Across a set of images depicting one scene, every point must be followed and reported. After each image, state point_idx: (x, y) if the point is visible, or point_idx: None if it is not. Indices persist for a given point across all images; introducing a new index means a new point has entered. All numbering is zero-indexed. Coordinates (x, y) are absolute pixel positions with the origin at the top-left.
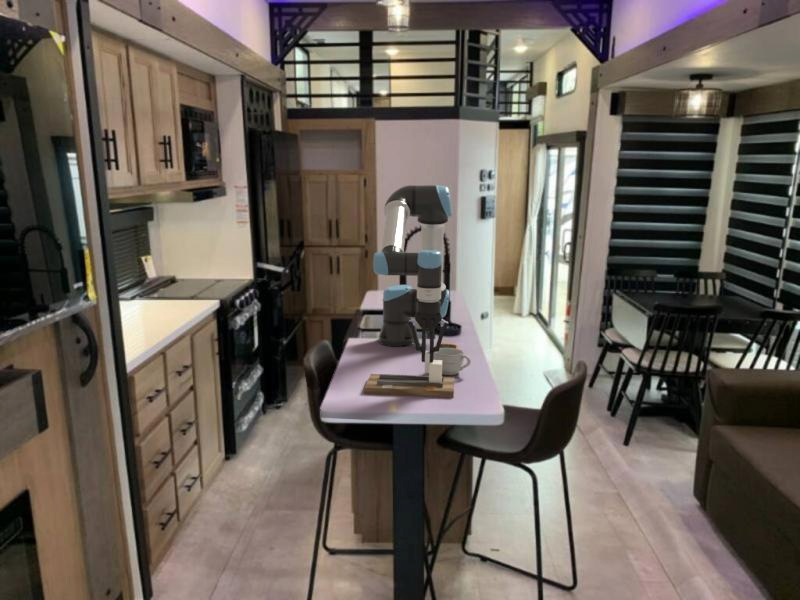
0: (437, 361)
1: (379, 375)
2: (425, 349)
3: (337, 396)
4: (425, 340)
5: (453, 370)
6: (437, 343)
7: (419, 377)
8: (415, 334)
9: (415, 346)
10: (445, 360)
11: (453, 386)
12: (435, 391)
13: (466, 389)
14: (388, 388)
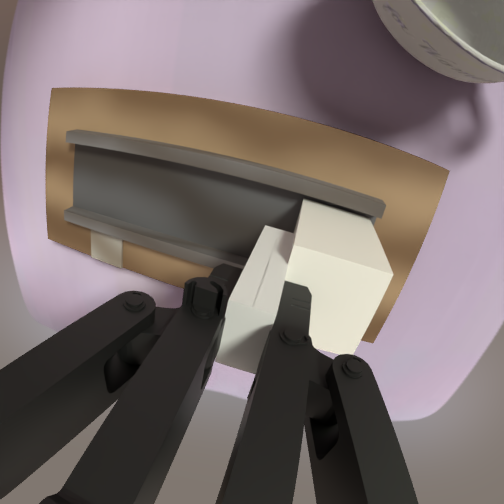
0: (343, 297)
1: (76, 104)
2: (214, 348)
3: (17, 240)
4: (171, 461)
5: (470, 82)
6: (316, 473)
7: (246, 177)
8: (36, 457)
9: (104, 367)
10: (452, 58)
11: (397, 294)
12: None
13: (457, 255)
14: (112, 264)
